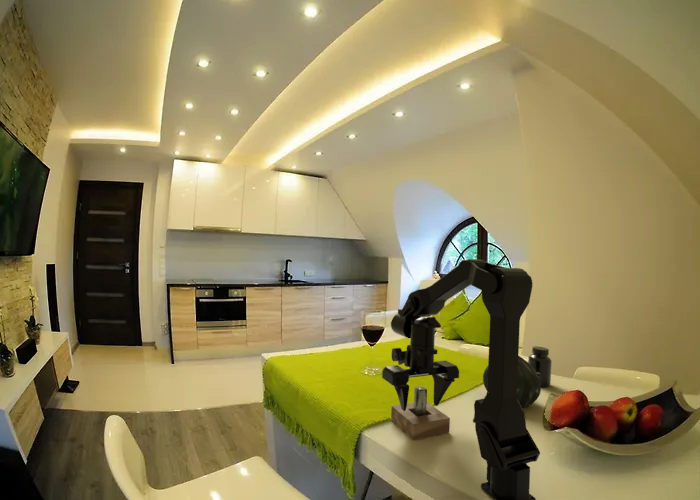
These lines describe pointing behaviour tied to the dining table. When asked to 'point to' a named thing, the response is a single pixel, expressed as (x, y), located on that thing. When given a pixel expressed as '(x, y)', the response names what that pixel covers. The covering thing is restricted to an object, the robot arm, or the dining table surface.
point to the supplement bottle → (541, 365)
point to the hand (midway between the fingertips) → (420, 407)
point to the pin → (420, 401)
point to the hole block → (420, 421)
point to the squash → (523, 383)
